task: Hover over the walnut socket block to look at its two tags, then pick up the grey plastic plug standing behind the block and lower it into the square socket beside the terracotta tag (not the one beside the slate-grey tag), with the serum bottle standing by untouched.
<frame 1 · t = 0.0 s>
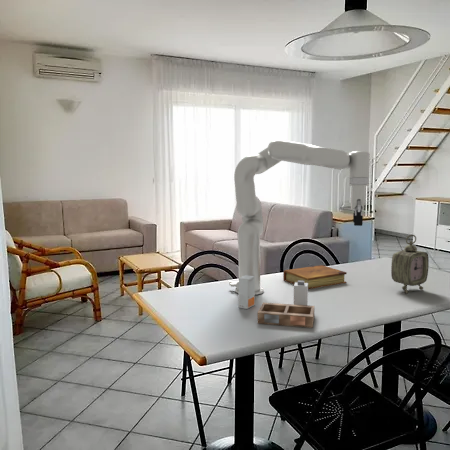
hand: (357, 224, 180), 31 cm above the table, tool pointing down, fingers open, 9 cm apart
plug: (300, 309, 170), on the table
skincare box: (246, 307, 175), on the table
tabletop clock: (408, 291, 195), on the table
socket block: (286, 319, 159), on the table
diary: (314, 282, 212), on the table
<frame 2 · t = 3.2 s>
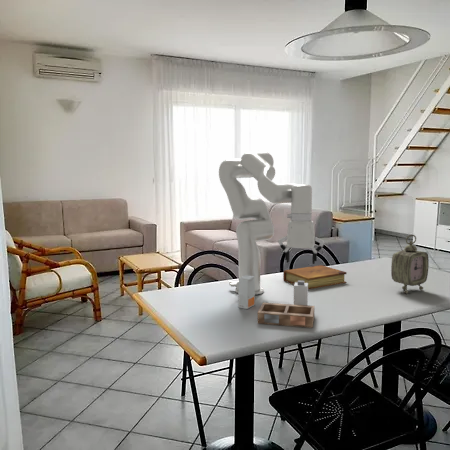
hand: (300, 262, 167), 19 cm above the table, tool pointing down, fingers open, 9 cm apart
nothing on the table moved.
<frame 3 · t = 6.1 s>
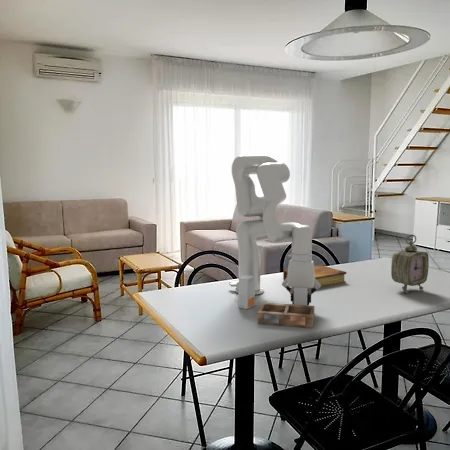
hand: (300, 303, 170), 2 cm above the table, tool pointing down, fingers closed on plug, 5 cm apart
plug: (300, 309, 170), on the table, touching gripper
everything else where it was.
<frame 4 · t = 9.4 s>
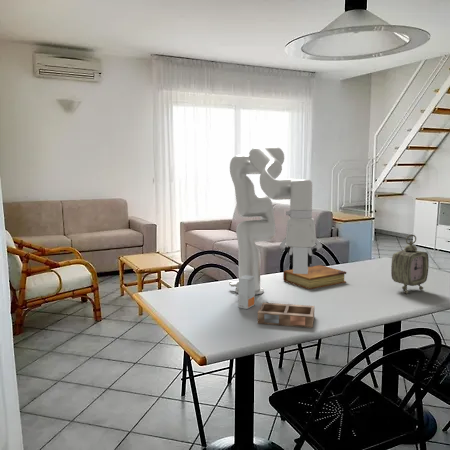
hand: (300, 265, 157), 20 cm above the table, tool pointing down, fingers closed on plug, 5 cm apart
plug: (300, 272, 157), point 17 cm above the table, touching gripper
everything else where it was.
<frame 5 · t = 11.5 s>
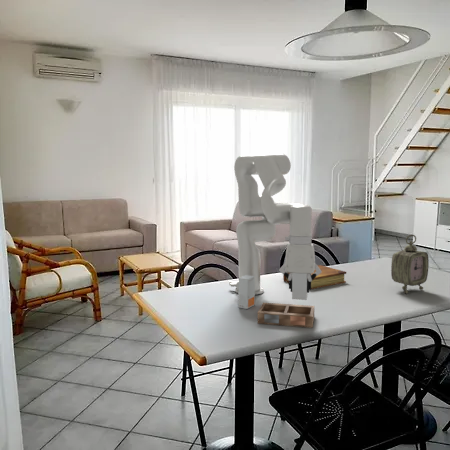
hand: (299, 290, 156), 11 cm above the table, tool pointing down, fingers closed on plug, 5 cm apart
plug: (299, 297, 156), point 9 cm above the table, touching gripper
everything else where it was.
when the fingers open (4 cm above the table, at t = 13.1 s): plug drops 1 cm, resting on socket block.
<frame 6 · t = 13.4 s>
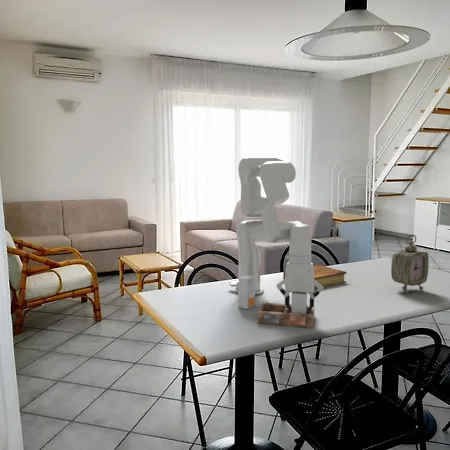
hand: (299, 307, 157), 5 cm above the table, tool pointing down, fingers open, 7 cm apart
plug: (299, 319, 158), point 1 cm above the table, touching socket block
everything else where it was.
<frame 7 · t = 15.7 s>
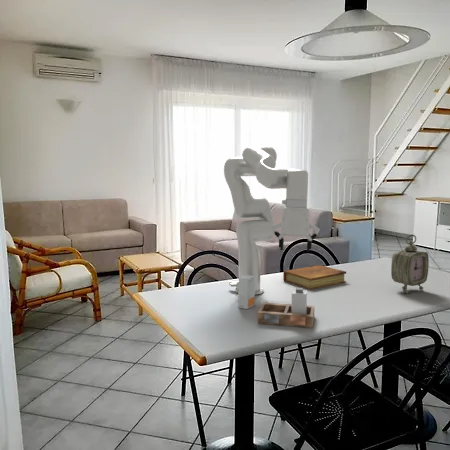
hand: (294, 250, 162), 24 cm above the table, tool pointing down, fingers open, 9 cm apart
nothing on the table moved.
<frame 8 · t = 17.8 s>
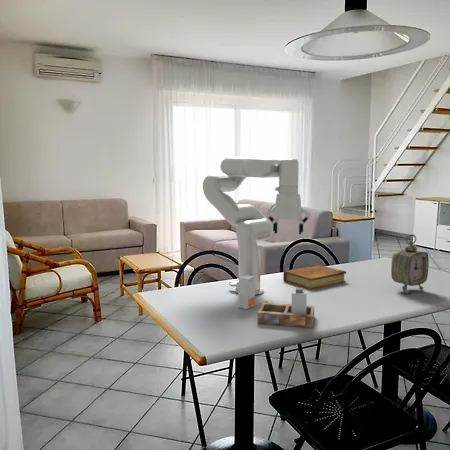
hand: (288, 233, 176), 28 cm above the table, tool pointing down, fingers open, 9 cm apart
nothing on the table moved.
at the end: plug 0.0 cm from the target spot on the socket block, point 0.6 cm above the socket block's base; plug tilted 0°; the gripper is holding nothing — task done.
